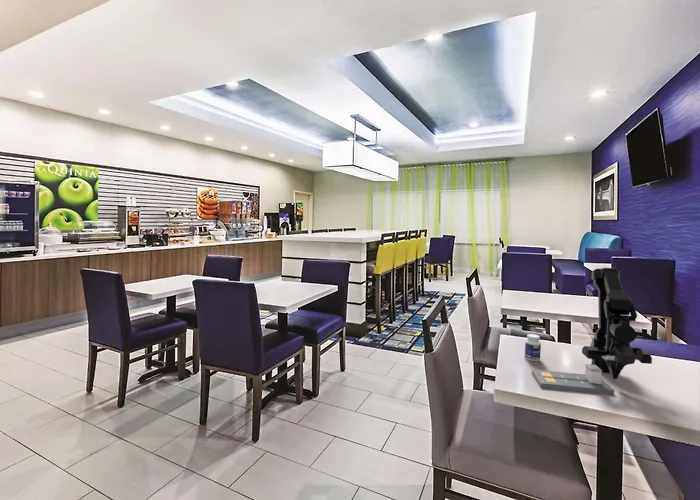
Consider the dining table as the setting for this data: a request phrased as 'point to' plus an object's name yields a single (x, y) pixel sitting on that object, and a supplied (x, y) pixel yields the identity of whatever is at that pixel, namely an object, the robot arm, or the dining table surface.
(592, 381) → the fader
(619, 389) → the dining table surface
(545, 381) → the mixing board
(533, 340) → the pill bottle
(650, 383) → the dining table surface
